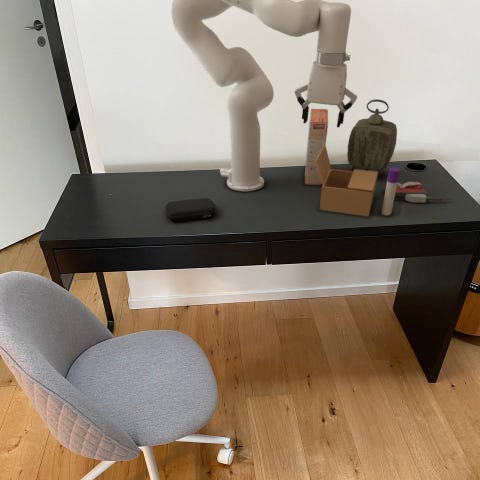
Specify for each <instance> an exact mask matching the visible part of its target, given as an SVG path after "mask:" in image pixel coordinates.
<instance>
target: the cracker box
mask: <svg viewBox="0 0 480 480" xmlns="http://www.w3.org/2000/svg"><path fill="white" fill-rule="evenodd" d="M328 110H329V109H326V108H310V111H309V112H310V113H309V124H308V134H307V145H306V156H305V165H304V166H305V167H304V185H306V186H307V185H310V186H311V185H312V186H322V184H321V181H320V177H319V173H318V169H317V166H316V162H315V161H316V159H317V157H318V155H319V153H320V151H321V150H322V148H323V146H324V145H327V136H328V128H329V111H328Z"/></svg>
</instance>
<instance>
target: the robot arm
mask: <svg viewBox="0 0 480 480" xmlns="http://www.w3.org/2000/svg"><path fill="white" fill-rule="evenodd" d="M232 7H235V8H237V9H240V10H242V11H244V12H246V13H249V14H252V15H254V16H256V18H257V19H258V21H260V22H261V23H262V24H263V25H265V26H266V27H268V28H270V29H272V30H274V31H277V32H278V33H282V34H284V35H287V36H289V37H293V38H300V37H303V36H306V35H309V34H312V33H315V32H318V36H317V45H316V55H315V60H314V61H313V62H312V65H311V69H310V73H309V77H308V83H307V84H304V85H303V86H300V87H298V88H296V89H295V90H294V95H295V97H296V99H297V102H298V104H299V105H300V106H301V109H302V113H301V120H303V121H302V122H303V124H307V122H308V120H309V112H310V107H309V105H310V104H319V105H329V106H336V107H337V108H338V110H339V111H338V115H337V123H336V128H340V127H341V125H343V124H344V120H345V119H344V118H345V113H346V112H347V111H349V110H350V109H351V108H352V106H353V105H354V104H355V102H356V101H357V99H358V95H357V94H355V93H354V92H353V91H351V90H350V89H348V88H347V77H348V66H347V64H346V63H345V62H347V61H348V62H350V61H351V54H348V53H347V44H348V37H349V30H350V23H351V15H352V8H351V6H350V4H348V3H344V2H329V1H325V0H300V1H294V0H173V1H172V4H171V19H172V24H173V27H174V29H175V31H176V33H177V35H178V36H179V38H180V39H181V40H182V42H183V43H184V44H185V45H186V47H187V48H188V49H189V50H190V51H191V53H192V54H193V55H194V57H195V58H196V60H197V61H198V62H199V64H200V65H201V67H202V68H203V69H204V70H205V72H206V74H207V75H208V76H209V77H210V79H211V80H212V81H213V82H214V84H215V85H217V86H218V87H221V88H226V87H230V86H231V85H234V84H237V85H235V86H233V87H232V88H231V90H230V91H229V92H228V94H227V98H226V109H227V114H228V119H229V131H230V133H229V134H230V136H229V137H230V168H222V167H221V168H220V169H219V174H220V177H223V178H227V179H226V185H227V187H228V188H229V189H231V190H232V191H233V190H234V191H238V192H254V191H258V190H259V189H262V188H263V187H264V186H265V179H264V178H263V177H262V176H261V124H260V121H259V117H258V113H259V112H261V111H262V110H265V109H267V108H268V107H269V106H270V105H271V104H272V102H273V99H274V96H275V94H274V93H275V92H274V87H273V85H272V83H271V81H270V79H269V78H268V76H267V75H266V74H265V72H264V70H263V69H262V68H261V67H260V65H259V64H258V62H257V61H256V59H255V58H254V57H253V55H252V54H251V53H250V52H249V51H248V50H247V49H245V48H243V47H240V46H232V47H229V48H228V47H226V45H224V44H223V42H222V41H221V40H220V38H219V36H218V35H217V34H216V32H214V31H213V29H211V28H210V27H209V26H207V25H206V24H205V23H204V22H203V21H206V20H210V19H214V18H216V17H218V16H220V15H221V14H223V13H224V12H226V11H227V10H229V9H230V8H232ZM305 92H306V100H305V98H304V97H303V96H302V93H305ZM345 96H346V97H348V98H349V101H348V102H347V103H345V102H344V100H345Z"/></svg>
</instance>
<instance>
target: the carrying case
mask: <svg viewBox="0 0 480 480" xmlns="http://www.w3.org/2000/svg"><path fill="white" fill-rule="evenodd" d="M164 209H165V212H166V216H167V219H168V220H170V221H172V222H182V221H190V220H198V219H207V218H211V217H214V216H215V215H216V214H217V208H216V206H215V204H214V201H213V200H212V199H211V198H209V197H200V198H191V199H184V200H183V199H182V200H181V199H180V200H174V201H169V202H167V203H166V205H165V206H164Z"/></svg>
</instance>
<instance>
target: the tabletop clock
mask: <svg viewBox="0 0 480 480" xmlns="http://www.w3.org/2000/svg"><path fill="white" fill-rule="evenodd" d="M376 102H377V103H382V104H384V105H385V106H386V110H383V111H380V109H379V108H375V110H373V109H371V108H369V105H370V104H371V103H376ZM366 109H367V111H368V112H370V113H371V115H369V117H368V118H360V119H358V121H357V122H356V123H355V124H354V126H353V127H352V128H351V131H350V134H349V138H348V141H347V153H346V154H347V155H346V157H347V162H348V164H349V165H350V166H351V171H354V169H357V168H358V169H362V170H365V171H381V175H382V176H386V175H387V171H386V168H387V166H388V165H389V163H390V162H391V160H392V158H393V156H394V153H395V149H396V146H397V138H398V128H397V124H396V123H394V122H393V121H390V120H385V119H384V118H383V116H382V114H385V113H387V112H388V111H389V109H390V106H389V104H388V103H387V101H385V100H383V99H372V100H369V101H368V102H367V104H366Z"/></svg>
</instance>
